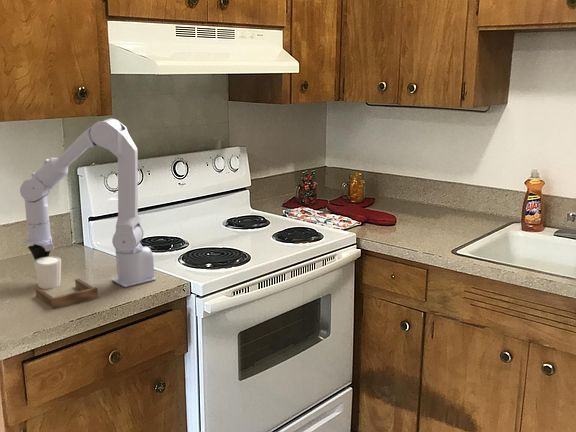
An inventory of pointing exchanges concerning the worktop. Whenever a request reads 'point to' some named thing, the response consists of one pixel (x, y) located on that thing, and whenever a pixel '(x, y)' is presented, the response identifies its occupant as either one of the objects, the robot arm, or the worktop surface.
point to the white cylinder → (48, 271)
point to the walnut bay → (69, 295)
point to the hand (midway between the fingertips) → (42, 270)
